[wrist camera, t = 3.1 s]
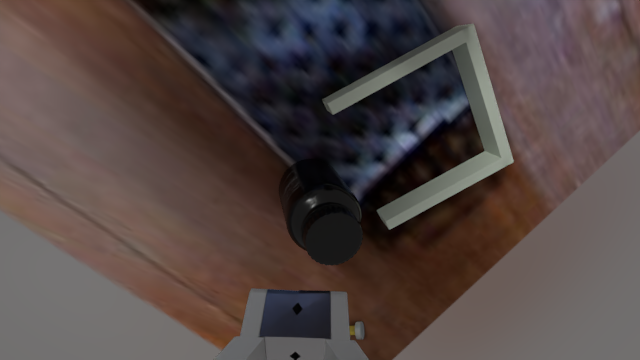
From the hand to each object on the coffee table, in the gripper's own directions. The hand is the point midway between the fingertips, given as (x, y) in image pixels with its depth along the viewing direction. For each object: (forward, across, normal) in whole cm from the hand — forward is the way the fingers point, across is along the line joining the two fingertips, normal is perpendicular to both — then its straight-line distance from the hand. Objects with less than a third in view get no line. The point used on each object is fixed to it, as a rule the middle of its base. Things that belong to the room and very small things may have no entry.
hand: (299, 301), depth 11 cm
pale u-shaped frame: (+28, -11, +7) cm, 31 cm away
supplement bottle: (+25, 0, +13) cm, 28 cm away
